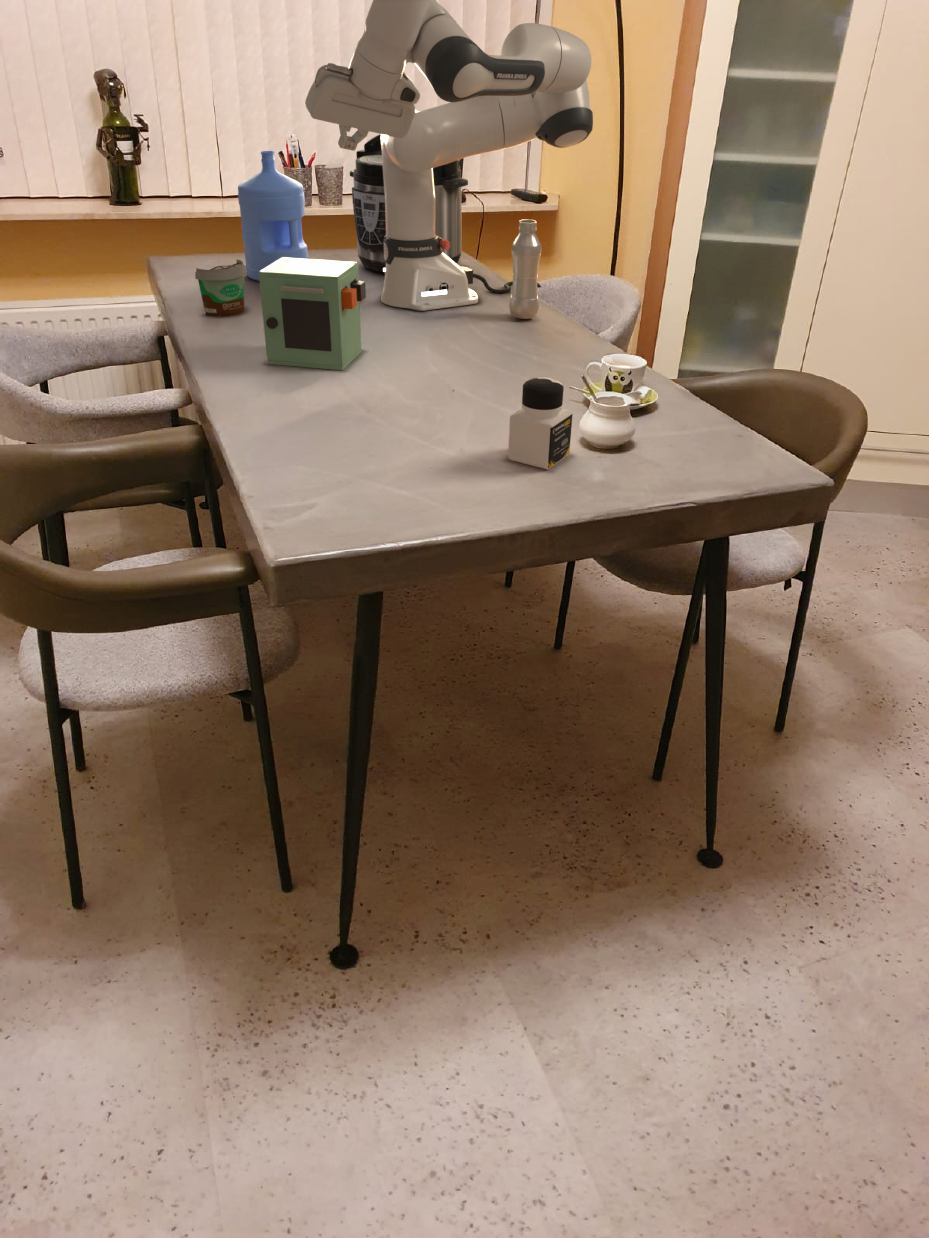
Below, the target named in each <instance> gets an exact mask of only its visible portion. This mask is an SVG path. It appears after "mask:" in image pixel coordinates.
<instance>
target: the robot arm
mask: <svg viewBox="0 0 929 1238" xmlns="http://www.w3.org/2000/svg"><path fill="white" fill-rule="evenodd" d="M408 63H410V64H414V65H415V67H417V69H418V70H419V71H420V72H421V73H422V75H423V76H424V77H425V78H426V80H427V81H428V83H429V85H430V86H431V88H432V89H433V91H434V93H435V94H436V95H437V97H439V99H440V100H442V101H444V102H447V103H444V104H440V105H437V106H433V107H431V108H427V109H423V110H417V109H416V105H415V104H418V102H419V101H420V98H421V93H420V91H419V90H418V88H417V86H416V85H415V83H414V81H413V80H412V79H411V78H410V76H409V75H407V73H405V72H404V71H405V68H406V65H407V64H408ZM591 69H592V54H591V49H590V48H589V46H588V44H587V43H586V42H585V40H583V39H582V38H580V37H578V36H577V35H575V34H573V33H571V32H569V31H566V30H564V29H561V28H558V27H554V26H552V25H546V24H542V23H536V22H525V23H520V24H518V25H516V26H514V27H513V29H511V30H510V31H509V33H508V34H507V35H506V36H505V39H504V41H503V43H502V46H501V49H500V53H499V55H497V54H496V55H495V54H488V53H486V52H485V51H483V49H481V48H480V46H478V45H477V43H476V42H474V41H473V40H472V39H471V38H470V36H469V35H468V34H467V33H466V31H464V29H463V28H462V27H461V26H460V25H459V24H458V23H457V21H456V20H455V18H454V17H453V16H452V15H451V14H450V13H449V11H448V10H446V8H444V6H442V5H441V4H440V3H439V2H438V0H372V2H371V5H370V7H369V10H368V12H367V16H366V18H365V23H364V31H363V34H362V36H361V37H360V38H359V40H358V41H357V44H356V45H355V47H354V51H353V55H352V57H351V60H350V62H349V65H348V67H347V66H345V65H344V66H343V65H337V64H335V63H332V62H328V63H327V64H324V65H322V66H320V67H318V69H317V71H316V74H315V76H314V80H313V82H312V84H311V86H310V88H309V90H308V91H307V92H308V93H307V95H306V97H305V100H304V106H305V109H306V111H307V112H308V114H309V116H310V117H311V118H312V119H313V120H318V121H323V122H327V123H329V124H335V125H338V130H339V135H340V136H339V138H338V141H337V144H338V147H339V148H340V149H343V150H347V151H353V152H355V151H356V149H357V148H358V144H360V143H361V142H362V141H363V140H364V139H365V138H366V137H368V134H369V132H371V133H374V134H378V135H379V134H381V148H382V165H383V179H384V192H385V217H386V235H385V236H384V259H385V262H386V268H383V272H382V273H384V280H383V285H382V291H381V296H380V302H381V303H382V304H385V305H388V306H391V307H396V308H402V309H403V308H404V309H410V310H415V311H420V312H425V311H431V310H432V311H433V310H439V309H447V308H453V307H454V308H455V307H462V306H468V305H476V304H477V303H478V302H479V295H478V294H477V292H475V291H474V290H473V289H471V288H470V286H469V285H473V284H474V279H476V280H479V281H481V283H483V284H482V285H483V286H484V288H485V289H486V290H487V291H488V292H490V293H493V294H499V295H500V294H501V295H502V294H509V293H510V292H512V284H513V280H512V281H509V282H506V283H504V285H503V289H500V288H498V289H497V288H493V287H491V286H490V284H489V283H488V281H487V280H486V278H485V277H483V276H482V275H480V274H477V273H474V270H473V269H472V268H469V267H468V266H467V267H466V266H465V265H462V266H460V265H459V264H458V263H457V264H456V263H455V262H454V261H453V260H452V259H450V258H449V257H448V256H447V255H445V254H444V253H443V250H448V249H449V247H450V242H449V241H447V240H446V239H442V238H440V237H438V236H437V235H435V192H434V181H433V168H435V167H438V166H441V165H445V164H448V163H451V162H454V161H457V160H458V161H459V160H462V159H465V158H469V157H473V156H478V155H483V154H489V153H492V152H497V151H501V150H506V149H510V148H514V147H517V146H520V145H523V144H527V143H528V142H531V141H533V140H536V139H538V140H540V141H542V142H545V143H546V144H547V145H549V146H552V147H555V148H558V149H563V148H564V149H565V148H570V147H573V146H577V145H579V144H581V143H582V142H583V141H585V140H586V139H587V138H588V137H589V136H590V134H591V133H592V131H593V127H594V115H593V114H594V112H593V111H592V108H591V107H592V106H591V99H590V91H589V86H588V77H589V75H590V74H591V73H590V72H591ZM352 128H353V129H356V131H355V132H354V133H353V134H352V136H350V135H348V133H350V132H351V130H352ZM538 288H542V285H541V284H540V283H538V282H537V289H538Z"/></svg>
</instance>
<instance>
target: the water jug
mask: <svg viewBox="0 0 929 1238" xmlns="http://www.w3.org/2000/svg"><path fill="white" fill-rule="evenodd" d="M260 154H261V161H260V162H261V167H262V168H261V171H259V172H258V173H256V174H254V175H252V176H251V177H249V178H247V179H246V180H244V181H242V182H240V183H239V184H238V186H237V199H238V205H239V213H240V214H239V215H240V222H241V237H242V242H243V251H244V261H245V264H244V265H245V268H246V272H247V273H246V276H247V277H248V278H249V279H252V280H253V281H257V282H259V271H260V270H262V269H264V268H265V267H267V266H268V265H270V264H272V263H273V262H275V261H277V260H278V259H280V258H282V257H290V258H305V259H309V253H308V252H309V251H308V244H307V243H305V241H304V237H303V225H302V218H304V216H305V215H306V209H305V208H306V207H305V203H306V201H305V199H306V198H305V192H304V186H303V184H302V183H301V182H299V181H297V180H296V179H294V178H291V177H289V176H288V175H285V174H284V173H282V172H280V171H278V170H277V169H276V158H275V151H273V150H262V151H260Z"/></svg>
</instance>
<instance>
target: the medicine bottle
mask: <svg viewBox="0 0 929 1238" xmlns="http://www.w3.org/2000/svg"><path fill="white" fill-rule="evenodd" d="M564 388H565V387H564V385H563V383H562V382H561V381H559V380H557V379H554V378H551V377H545V376H543V377H542V376H541V377H539V376H538V377H533V378H530V379H528V380H525V382H524V383H523V384H522V391H521V392H522V393H521V409H519V410H517V411H516V412H514V413H512V414H510V416H509V427H508V428H509V429H508V450H507V451H508V452H507V458H508V460H509V461H513V462H516V463H520V464H524V465H528V466H532V467H535V468H539V469H544V470H547V471H548V470H550V469H551V468H554V466H555V465H557V464H558V463H559V462H561V461H562V460H564V459H565V458H566V457H568V456H569V455H570V453H571V451H570V450H571V438H572V437H571V436H572V426H573V413H574V412H572V410H569V409H563V402H564V401H563V400H564V391H565V390H564Z"/></svg>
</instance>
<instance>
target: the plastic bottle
mask: <svg viewBox="0 0 929 1238" xmlns="http://www.w3.org/2000/svg"><path fill="white" fill-rule="evenodd" d="M518 221H519V222H518V229H517V230H518V232H519V233H518V234H517V236H516V237H515V239H514V240H513V242H512V243H511V247H510V248H511V262H512V281H513V284H512V286H511V295H510V297H509V304H508V308H509V313H510V315H511V316H512V317H513V318H515V319H519V320H526V319H527V320H528V319H534V318H536V316H537V315H538V313H539V308H540V303H539V302H540V301H539V296H538V287H537V283H538V278H539V277H538V274H539V267H540V261H541V256H542V244H541V241H540V240H539V238H538V236H537V234H536V232H537V221H536V220H534V219H521V220H518Z"/></svg>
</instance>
